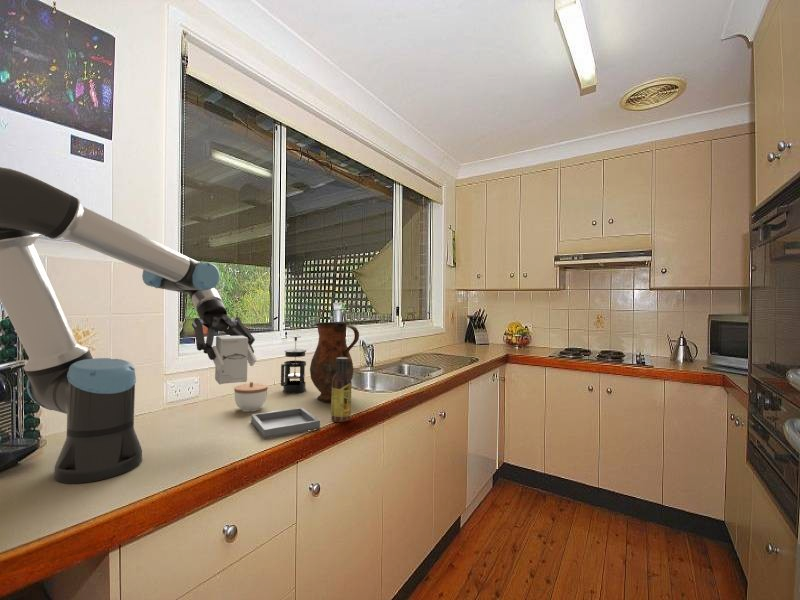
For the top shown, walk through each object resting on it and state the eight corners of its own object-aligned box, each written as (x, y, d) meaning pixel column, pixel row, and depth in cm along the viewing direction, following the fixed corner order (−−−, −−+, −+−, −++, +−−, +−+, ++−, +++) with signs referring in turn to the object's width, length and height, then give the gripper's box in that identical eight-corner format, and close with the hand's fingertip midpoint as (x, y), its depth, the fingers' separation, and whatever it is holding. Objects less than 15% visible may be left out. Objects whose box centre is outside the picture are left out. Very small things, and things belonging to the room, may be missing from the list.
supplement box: (218, 385, 102) (219, 338, 102) (214, 379, 108) (215, 335, 108) (247, 382, 106) (248, 337, 106) (242, 377, 112) (242, 334, 112)
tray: (264, 438, 102) (264, 429, 102) (251, 422, 116) (251, 414, 116) (319, 429, 111) (320, 420, 111) (301, 414, 124) (302, 407, 124)
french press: (297, 386, 165) (298, 334, 165) (311, 390, 159) (313, 335, 159) (274, 391, 155) (275, 336, 155) (289, 395, 150) (290, 337, 150)
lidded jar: (249, 403, 137) (249, 377, 137) (273, 406, 133) (274, 380, 133) (226, 411, 127) (227, 383, 127) (252, 415, 123) (253, 386, 123)
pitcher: (329, 392, 157) (331, 320, 157) (370, 400, 145) (371, 322, 145) (299, 400, 143) (300, 321, 143) (340, 410, 131) (342, 324, 131)
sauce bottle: (346, 424, 116) (348, 359, 117) (327, 422, 118) (329, 358, 118) (353, 417, 123) (354, 357, 123) (335, 416, 124) (336, 356, 124)
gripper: (237, 313, 124) (265, 368, 115) (166, 315, 107) (193, 379, 98) (247, 298, 121) (277, 352, 112) (175, 297, 104) (203, 362, 95)
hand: (237, 365), depth 105 cm, fingers closed on supplement box, 9 cm apart
